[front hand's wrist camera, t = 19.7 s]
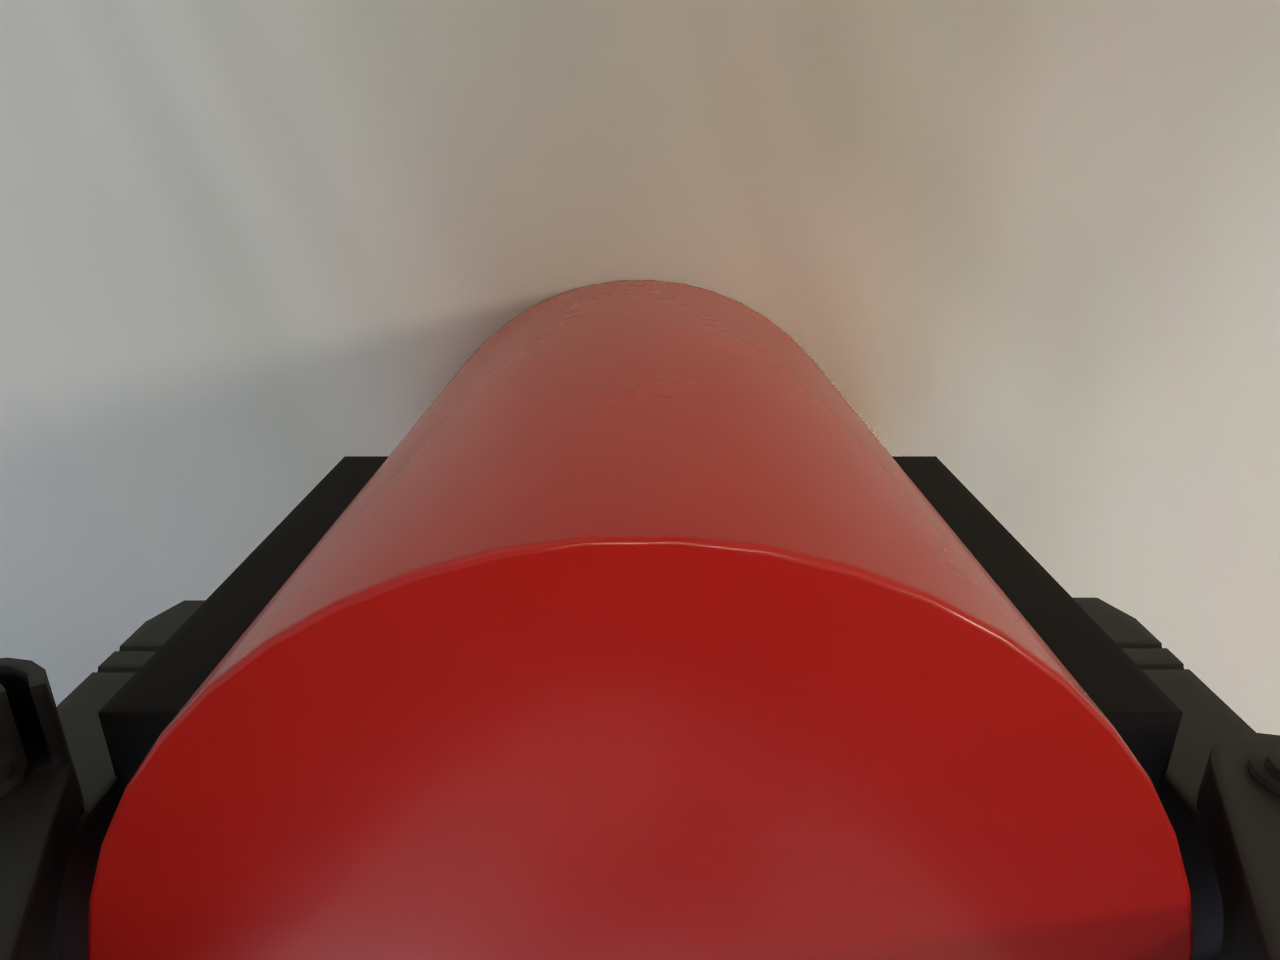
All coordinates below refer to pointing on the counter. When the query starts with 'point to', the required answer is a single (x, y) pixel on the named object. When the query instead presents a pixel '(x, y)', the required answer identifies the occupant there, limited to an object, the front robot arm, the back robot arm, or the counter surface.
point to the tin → (640, 697)
